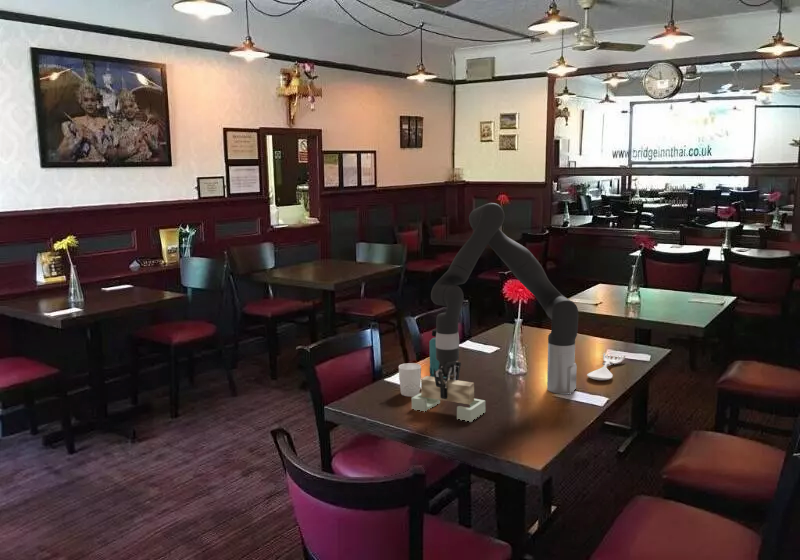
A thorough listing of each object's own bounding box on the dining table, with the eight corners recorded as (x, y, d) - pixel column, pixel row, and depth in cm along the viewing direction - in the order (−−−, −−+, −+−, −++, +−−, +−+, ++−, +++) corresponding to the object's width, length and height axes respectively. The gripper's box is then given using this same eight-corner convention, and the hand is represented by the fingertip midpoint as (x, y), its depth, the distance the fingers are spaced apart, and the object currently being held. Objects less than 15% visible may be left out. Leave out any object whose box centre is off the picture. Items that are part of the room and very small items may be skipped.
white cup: (414, 398, 230) (413, 370, 228) (394, 395, 234) (394, 367, 232) (425, 392, 236) (425, 364, 235) (406, 388, 240) (406, 361, 239)
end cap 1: (411, 409, 219) (411, 397, 219) (427, 400, 228) (427, 389, 227) (424, 412, 217) (424, 400, 216) (440, 402, 225) (440, 391, 224)
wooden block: (474, 400, 215) (474, 382, 214) (469, 404, 211) (469, 386, 210) (426, 393, 222) (426, 375, 222) (421, 396, 219) (421, 379, 218)
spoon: (626, 362, 267) (626, 354, 266) (609, 385, 239) (609, 376, 239) (603, 359, 271) (603, 351, 271) (584, 382, 244) (584, 373, 243)
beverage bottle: (449, 380, 249) (449, 328, 245) (443, 385, 243) (442, 332, 239) (433, 378, 251) (432, 326, 248) (426, 383, 245) (425, 330, 242)
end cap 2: (485, 412, 215) (485, 400, 215) (470, 422, 207) (470, 410, 207) (471, 409, 218) (471, 397, 217) (456, 419, 210) (456, 407, 209)
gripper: (446, 352, 206) (446, 405, 209) (468, 342, 218) (468, 392, 220) (425, 349, 210) (426, 400, 213) (448, 339, 222) (448, 388, 225)
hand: (447, 396), depth 217 cm, fingers closed on wooden block, 4 cm apart
